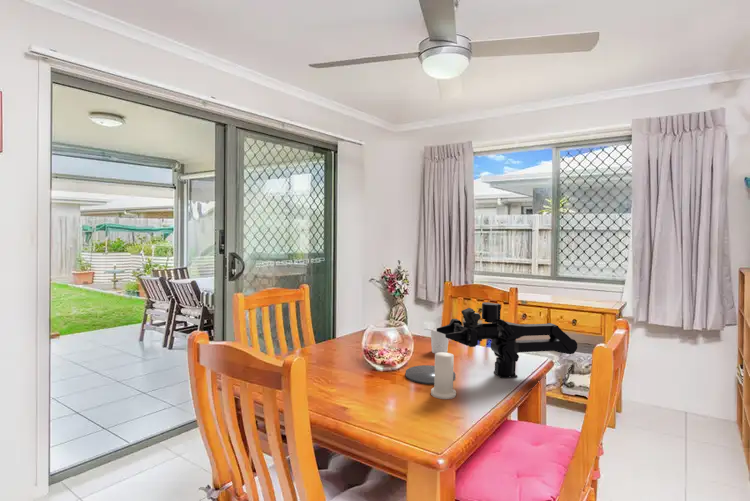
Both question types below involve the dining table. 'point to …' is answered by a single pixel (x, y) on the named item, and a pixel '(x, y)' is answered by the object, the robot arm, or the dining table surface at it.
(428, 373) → the hub plate
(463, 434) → the dining table surface
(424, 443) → the dining table surface
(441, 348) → the white cup
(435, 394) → the white flanged cylinder
